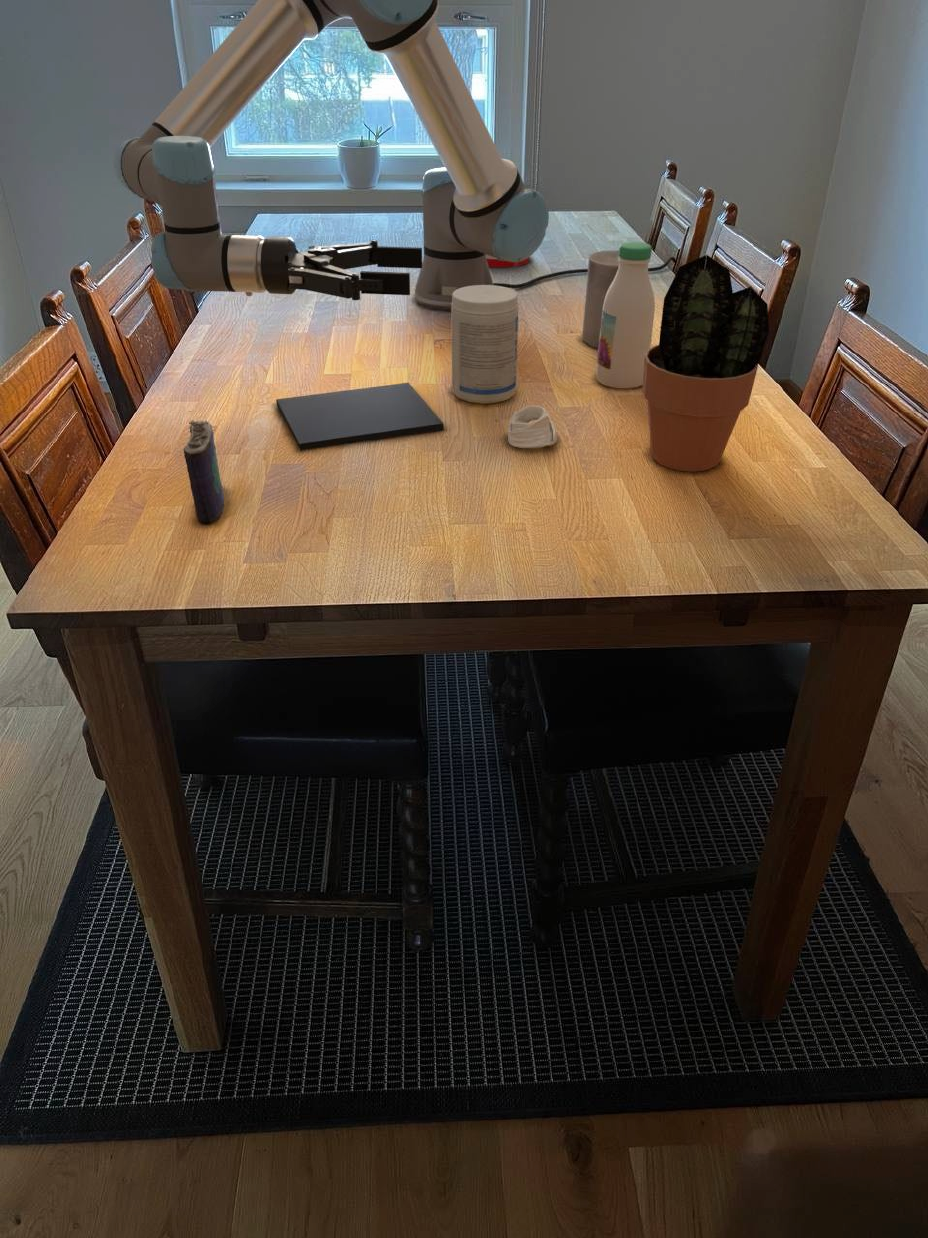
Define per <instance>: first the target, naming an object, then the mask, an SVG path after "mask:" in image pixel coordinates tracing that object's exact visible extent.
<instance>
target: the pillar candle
mask: <svg viewBox="0 0 928 1238" xmlns="http://www.w3.org/2000/svg"><path fill="white" fill-rule="evenodd" d="M618 258H619V249H618V250H616V249H613V250H612V249H610V250H600V251H596V252H593V253H591V254H589V255H588V260H587V261H588V263H587V269H588V272H587V275H586V287H585V288H586V289H585V299H584V309H583V311H584V312H583V324H582V336H581V339H582V341H583V342H585V344H587V345H588V346H590V347H592V348H596V349H598V348H599V338H600V329H601V319H602V311H603V304H604V300H605V296H606V294H607V291H608V289H609V287H610V285H611V284H612V282H613V280H614V278H615V276H616V273H617V271H618V268H619V260H618Z"/></svg>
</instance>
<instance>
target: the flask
mask: <svg viewBox="0 0 928 1238" xmlns="http://www.w3.org/2000/svg"><path fill="white" fill-rule="evenodd" d="M188 424H189V432H190V437H189V440H188V442H187V443H186V444H185V446H184V447H183V456H184V459H185V460H184V461H185V464H186V470H187V473H188V479H189V488H190V491H191V495H192V499H193V505H194V509H195V515H196V518H197V523H198V524H200V525H201V526H211V525H215V524H216V523H217V522H219V520H220V519H221V517H222V515H223V512H224V510H225V497H224V488H223V484H222V480H221V479H222V478H221V474H220V469H219V468H220V467H219V462H218V457H217V456H218V455H217V448H216V445H215V436H214V431H213V427H212V424H211V423H210V422H209V421H208V420H207V419H205V420H196V421H195V420H194V419H193V420H191V421H189V422H188Z"/></svg>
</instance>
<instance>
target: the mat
mask: <svg viewBox="0 0 928 1238" xmlns="http://www.w3.org/2000/svg"><path fill="white" fill-rule="evenodd" d="M275 402H276V407H277V409H278V411H279V413H280V414H281V417H282V419H283V421H284V422H285V425H286V426H287V428H288V430H289V432H290V434H291V436H292V438H293V440H294V442H295V444H296V446H297V448H298V450H299V451H301V452H302V451H309V450H314V449H315V450H316V449H321V448H327V447H328V448H330V447H335V446H341V445H350V444H355V443H362V442H363V443H364V442H368V441H369V442H371V441H376V440H383V439H390V438H398V437H405V436H412V435H418V434H425V433H432V432H433V433H434V432H440V431H444V422H443V421H442V419H440V418H439V416H438V415H437V414H436V413H435V412H434V411H433V410H432V409H431V407H430V406H429V405H428V404H427V403H426V401H425V400H424V399H423V398H422V396H421V395H419V393H418V392H417V390H415V389H414V387H413V386H412V385H411V384H410V383H409V382H402V383H395V384H387V385H379V386H378V385H377V386H371V387H363V388H354V389H347V390H339V391H332V392H330V391H329V392H323V393H315V394H307V395H300V396H291V397H284V398H276V400H275Z"/></svg>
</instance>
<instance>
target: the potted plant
mask: <svg viewBox="0 0 928 1238" xmlns="http://www.w3.org/2000/svg"><path fill="white" fill-rule="evenodd" d="M769 328H770V325H769V305H768V303H767V302H766V301H765V300H764V298H763V297H761V296H760V295H759V294H758V292H756V290H754V289H753V287H752V286H748V287H746V288H743V289H741V290H738V291H735V292H734V290H733V285H732V278H731V271H730V269H729V268H728V267H726V266H724V265H722V263H720V262H719V261H717V260H716V259H714V258H713V257H711V256H710V255H708V254H705V255H703V256H701V257H698V258H696V259H694V260H691V261H689V262H687V263H684V264H683V265H680V266H679V267H678V269H677V271H676V273H675V276H674V277H673V279H672V281H671V283H670V286H669V287H668V290H667V291H666V294H665V295H664V298H663V306H662V313H661V322H660V327H659V329H660V331H659V341H658V344H657V345H654V346H652V347H650V349H649V350H648V351H647V352H646V354H645V358H644V372H643V384H642V385H641V393H642V395H643V398H644V399H645V400H646V402H647V403H646V404H647V417H648V430H649V431H648V432H649V446H650V455H651V457H652V459H653V460H654V461H655V462H656V463H658V464H659V465H661V466H663V467H665V468H667V469H671V470H675V471H681V472H703V471H708V470H710V469H713V468H716V466H717V465H718V464H720V462H721V459H722V458H723V455H724V453H725V450H726V447H727V445H728V443H729V441H730V438H731V435H732V433H733V431H734V428H735V426H736V424H737V421H738V419H739V416H740V414H741V412H742V411H743V410H744V409H746V408H747V407H748V406H749V405H750V404H749V403H750V400H751V396H752V391H753V388H754V384H755V380H756V375H757V371H758V367H759V364H760V362H761V358H762V356H763V352H764V349H765V346H766V342H767V340H768V336H769V333H770V329H769Z"/></svg>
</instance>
